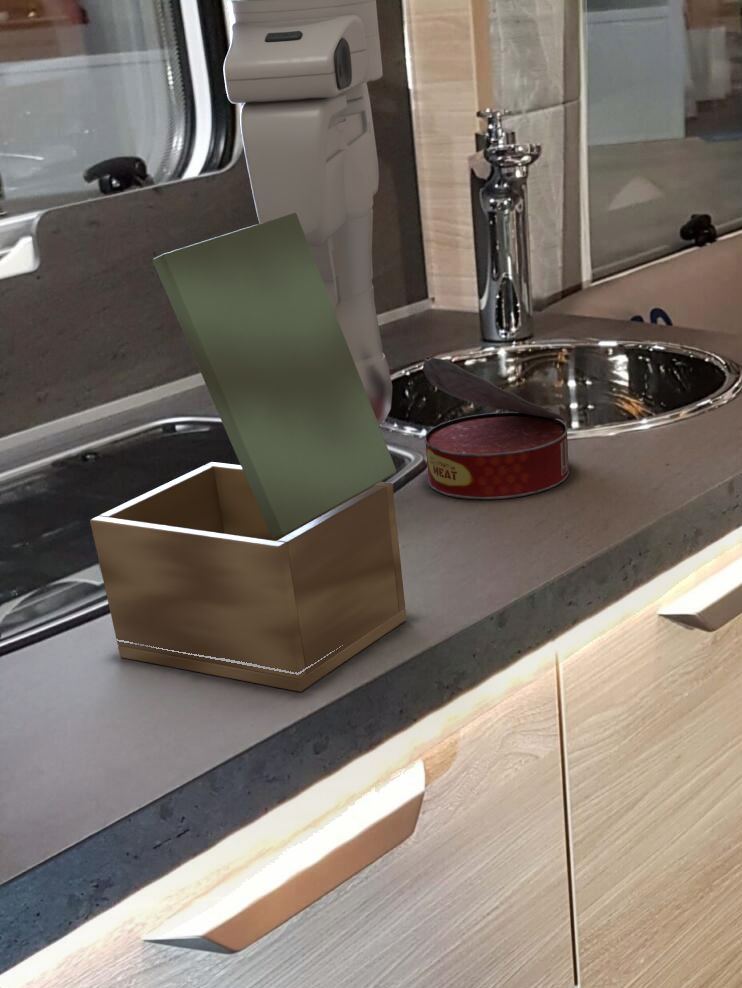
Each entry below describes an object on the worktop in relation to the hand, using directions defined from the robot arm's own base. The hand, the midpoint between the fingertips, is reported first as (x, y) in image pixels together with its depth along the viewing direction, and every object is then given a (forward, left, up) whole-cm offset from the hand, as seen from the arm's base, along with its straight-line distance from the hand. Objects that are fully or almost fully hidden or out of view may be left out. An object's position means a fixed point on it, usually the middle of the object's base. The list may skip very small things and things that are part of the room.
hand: (336, 297), depth 102 cm
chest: (0, -28, -12) cm, 30 cm away
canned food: (+10, 0, -12) cm, 16 cm away
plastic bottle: (0, 0, -9) cm, 9 cm away
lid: (+3, -29, +2) cm, 30 cm away
